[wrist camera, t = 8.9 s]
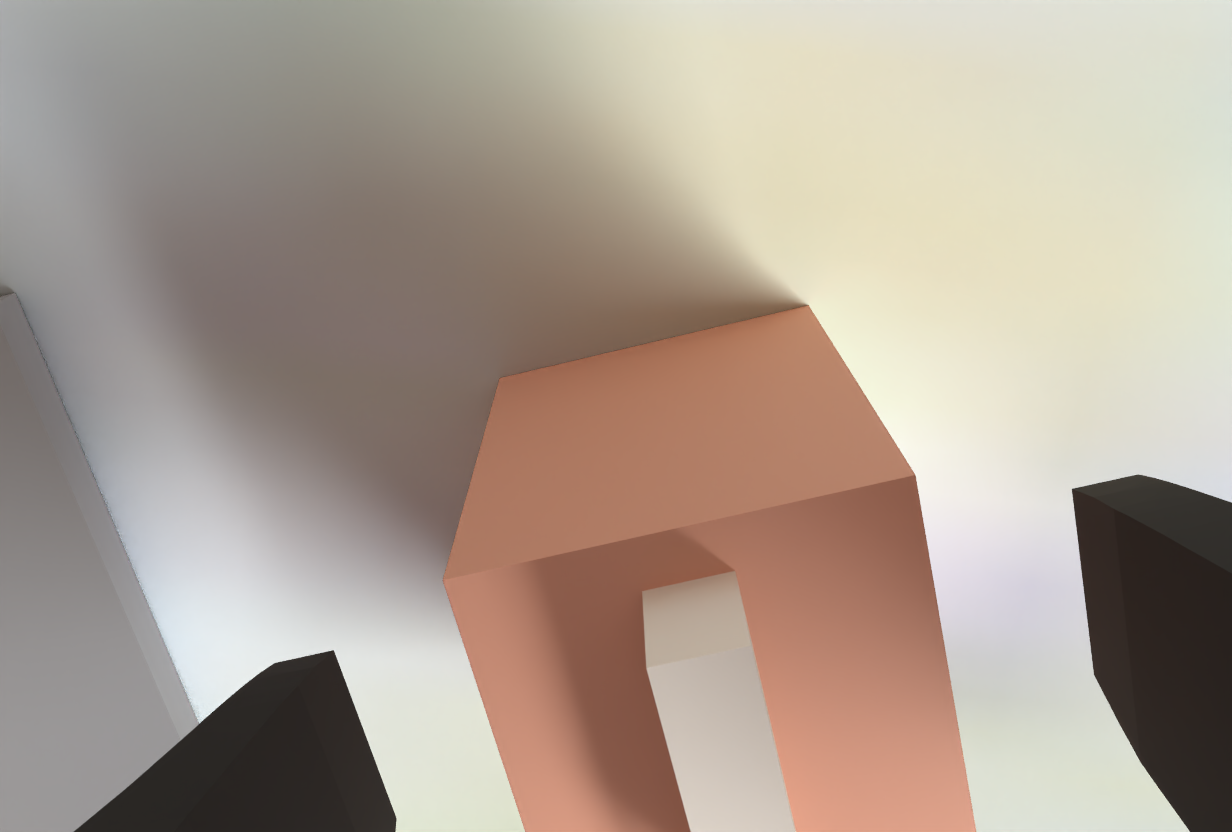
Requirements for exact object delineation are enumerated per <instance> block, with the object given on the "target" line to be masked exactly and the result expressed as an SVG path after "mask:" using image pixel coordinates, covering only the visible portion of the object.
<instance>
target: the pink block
mask: <svg viewBox="0 0 1232 832" xmlns="http://www.w3.org/2000/svg"><path fill="white" fill-rule="evenodd" d="M443 583H444V586H445V589H446V592H447V595H448V598H449V601H450V604H451V607H452V610H453V613H454V616H455V619H456V622H457V625H458V628H459V632H460V635H461V638H462V641H463V644H464V647H465V650H466V653H467V656H468V659H469V662H470V665H471V668H472V671H473V674H474V677H475V680H476V683H477V686H478V689H479V692H480V695H481V698H482V701H483V704H484V707H485V711H486V714H487V717H488V720H489V723H490V726H491V729H492V732H493V735H494V738H495V741H496V744H497V747H498V750H499V753H500V756H501V759H502V762H503V765H504V768H505V771H506V774H507V777H508V780H509V783H510V786H511V790H512V793H513V796H514V799H515V802H516V805H517V808H518V811H519V814H520V817H521V820H522V823H523V826H524V829H525V832H976V828H975V822H974V816H973V810H972V804H971V798H970V792H969V787H968V781H967V775H966V769H965V763H964V757H963V751H962V746H961V740H960V734H959V728H958V722H957V716H956V710H955V705H954V699H953V693H952V687H951V681H950V675H949V669H948V664H947V658H946V652H945V646H944V640H943V634H942V628H941V623H940V617H939V611H938V605H937V599H936V593H935V587H934V581H933V576H932V570H931V564H930V558H929V552H928V546H927V540H926V535H925V529H924V523H923V517H922V511H921V505H920V499H919V494H918V488H917V482H916V476H915V474H914V472H913V471H912V469H911V467H910V466H909V464H908V463H907V461H906V459H905V458H904V456H903V455H902V453H901V451H900V450H899V448H898V447H897V445H896V444H895V442H894V440H893V439H892V437H891V436H890V434H889V432H888V431H887V429H886V428H885V426H884V424H883V423H882V421H881V420H880V418H879V417H878V415H877V413H876V412H875V410H874V409H873V407H872V405H871V404H870V402H869V401H868V399H867V397H866V396H865V394H864V393H863V391H862V390H861V388H860V386H859V385H858V383H857V382H856V380H855V378H854V377H853V375H852V374H851V372H850V370H849V369H848V367H847V366H846V364H845V363H844V361H843V359H842V358H841V356H840V355H839V353H838V351H837V350H836V348H835V347H834V345H833V343H832V342H831V340H830V339H829V337H828V336H827V334H826V332H825V331H824V329H823V328H822V326H821V324H820V323H819V321H818V320H817V318H816V316H815V315H814V313H813V312H812V310H811V309H810V307H809V305H808V306H804V307H799V308H795V309H791V310H787V311H782V312H778V313H774V314H770V315H765V316H761V317H757V318H753V319H748V320H744V321H740V322H736V323H731V324H727V325H723V326H719V327H714V328H710V329H706V330H702V331H697V332H693V333H689V334H685V335H680V336H676V337H672V338H668V339H663V340H659V341H655V342H651V343H646V344H642V345H638V346H634V347H629V348H625V349H621V350H617V351H613V352H608V353H604V354H600V355H596V356H591V357H587V358H583V359H579V360H574V361H570V362H566V363H562V364H557V365H553V366H549V367H545V368H540V369H536V370H532V371H528V372H523V373H519V374H515V375H511V376H506V377H502V378H500V379H499V382H498V386H497V389H496V393H495V396H494V400H493V403H492V407H491V410H490V414H489V418H488V421H487V425H486V428H485V432H484V435H483V439H482V442H481V446H480V450H479V453H478V457H477V460H476V464H475V467H474V471H473V474H472V478H471V482H470V485H469V489H468V492H467V496H466V499H465V503H464V506H463V510H462V513H461V517H460V521H459V524H458V528H457V531H456V535H455V538H454V542H453V545H452V549H451V553H450V556H449V560H448V563H447V567H446V570H445V574H444V577H443Z"/></svg>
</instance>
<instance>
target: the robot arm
mask: <svg viewBox="0 0 1232 832" xmlns="http://www.w3.org/2000/svg"><path fill="white" fill-rule="evenodd" d="M1072 494H1073V502H1074V510H1075V519H1076V527H1077V535H1078V544H1079V552H1080V561H1081V569H1082V577H1083V586H1084V594H1085V602H1086V611H1087V619H1088V628H1089V636H1090V644H1091V653H1092V661H1093V669H1094V675H1095V677H1096V679H1097V681H1098V683H1099V685H1100V687H1101V689H1102V691H1103V693H1104V695H1105V697H1106V699H1107V701H1108V702H1109V704H1110V706H1111V708H1112V710H1113V712H1114V714H1115V716H1116V718H1117V720H1118V722H1119V724H1120V726H1121V727H1122V729H1123V731H1124V733H1125V735H1126V736H1127V738H1128V740H1129V742H1130V744H1131V745H1132V747H1133V749H1134V751H1135V753H1136V755H1137V756H1138V758H1139V760H1140V762H1141V763H1142V765H1143V766H1144V768H1145V769H1146V770H1147V772H1148V773H1149V775H1150V776H1151V778H1152V779H1153V780H1154V782H1155V783H1156V785H1157V786H1158V788H1159V789H1160V790H1161V792H1162V793H1163V794H1164V796H1165V797H1166V799H1167V800H1168V801H1169V803H1170V804H1171V806H1172V807H1173V808H1174V810H1175V811H1176V813H1177V814H1178V815H1179V817H1180V818H1181V820H1182V821H1183V822H1184V824H1185V825H1186V827H1187V828H1188V829H1189V831H1190V832H1232V503H1231V502H1228V501H1225V500H1222V499H1219V498H1216V497H1213V496H1210V495H1207V494H1204V493H1201V492H1198V491H1195V490H1192V489H1189V488H1186V487H1183V486H1180V485H1177V484H1173V483H1170V482H1167V481H1163V480H1159V479H1156V478H1152V477H1147V476H1143V475H1134V476H1129V477H1125V478H1120V479H1116V480H1111V481H1106V482H1102V483H1097V484H1093V485H1088V486H1084V487H1079V488H1074V489H1072ZM395 829H396V816H395V813H394V811H393V808H392V805H391V803H390V800H389V797H388V795H387V792H386V789H385V787H384V784H383V781H382V779H381V776H380V773H379V770H378V768H377V765H376V762H375V760H374V757H373V754H372V752H371V749H370V746H369V744H368V741H367V738H366V736H365V733H364V730H363V728H362V725H361V722H360V720H359V717H358V714H357V712H356V709H355V706H354V704H353V701H352V698H351V696H350V693H349V690H348V687H347V685H346V682H345V679H344V677H343V674H342V671H341V669H340V666H339V663H338V661H337V658H336V655H335V653H334V650H333V651H328V652H324V653H319V654H315V655H310V656H305V657H301V658H296V659H292V660H287V661H282V662H278V663H274V664H273V665H271V666H270V667H268V668H267V669H265V670H264V671H262V672H261V673H259V674H258V675H257V676H255V677H254V678H253V679H252V680H250V681H249V682H248V683H247V684H245V685H244V686H243V687H242V688H240V689H239V690H238V691H237V692H236V693H234V694H233V695H232V696H231V697H230V698H228V699H227V700H226V701H225V702H224V703H223V704H221V705H220V706H219V707H218V708H217V709H216V710H215V711H213V712H212V713H211V714H210V715H209V716H208V717H207V718H205V719H204V720H203V721H202V722H201V723H200V724H199V725H197V726H196V727H195V728H194V729H193V730H192V731H191V732H190V733H188V734H187V735H186V736H185V737H184V738H183V739H182V740H180V741H179V742H178V743H177V744H176V745H175V746H174V747H173V748H171V749H170V750H169V751H168V752H167V753H166V754H165V755H163V756H162V757H161V758H160V759H159V760H158V761H157V762H156V763H154V764H153V765H152V766H151V767H150V768H149V769H148V770H146V771H145V772H144V773H143V774H142V775H141V776H140V777H138V778H137V779H136V780H135V781H134V782H133V783H132V784H130V785H129V786H128V787H127V788H126V789H125V790H123V791H122V792H121V793H120V794H119V795H117V796H116V797H115V798H114V799H113V800H111V801H110V802H109V803H108V804H106V805H105V806H104V807H103V808H102V809H100V810H99V811H98V812H97V813H96V814H94V815H93V816H92V817H91V818H89V819H88V820H87V821H86V822H85V823H83V824H82V825H81V826H80V827H79V828H77V829H76V830H75V831H74V832H395Z"/></svg>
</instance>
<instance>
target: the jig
mask: <svg viewBox="0 0 1232 832" xmlns="http://www.w3.org/2000/svg"><path fill="white" fill-rule="evenodd" d="M197 725H199V723H198V720H197V718H196V716H195V713H194V711H193V709H192V706H191V704H190V701H189V699H188V697H187V694H186V692H185V690H184V687H183V685H182V683H181V680H180V678H179V676H178V673H177V671H176V669H175V666H174V664H173V662H172V659H171V657H170V654H169V652H168V650H167V647H166V645H165V643H164V640H163V638H162V636H161V633H160V631H159V629H158V626H157V624H156V622H155V619H154V617H153V615H152V612H151V610H150V607H149V605H148V603H147V600H146V598H145V596H144V593H143V591H142V589H141V586H140V584H139V582H138V579H137V577H136V575H135V572H134V570H133V568H132V565H131V563H130V561H129V558H128V556H127V553H126V551H125V549H124V546H123V544H122V542H121V539H120V537H119V535H118V532H117V530H116V528H115V525H114V523H113V521H112V518H111V516H110V514H109V511H108V509H107V506H106V504H105V502H104V499H103V497H102V495H101V492H100V490H99V488H98V485H97V483H96V481H95V478H94V476H93V474H92V471H91V469H90V467H89V464H88V462H87V459H86V457H85V455H84V452H83V450H82V448H81V445H80V443H79V441H78V438H77V436H76V434H75V431H74V429H73V427H72V424H71V422H70V420H69V417H68V415H67V412H66V410H65V408H64V405H63V403H62V401H61V398H60V396H59V394H58V391H57V389H56V387H55V384H54V382H53V380H52V377H51V375H50V373H49V370H48V368H47V365H46V363H45V361H44V358H43V356H42V354H41V351H40V349H39V347H38V344H37V342H36V340H35V337H34V335H33V333H32V330H31V328H30V326H29V323H28V321H27V318H26V316H25V314H24V311H23V309H22V307H21V304H20V302H19V300H18V297H17V295H16V293H12V294H8V295H4V296H0V832H74V831H75V830H76V829H77V828H79V827H80V826H81V825H82V824H83V823H85V822H86V821H87V820H88V819H89V818H91V817H92V816H93V815H94V814H96V813H97V812H98V811H99V810H100V809H102V808H103V807H104V806H105V805H106V804H108V803H109V802H110V801H111V800H113V799H114V798H115V797H116V796H117V795H119V794H120V793H121V792H122V791H123V790H125V789H126V788H127V787H128V786H129V785H130V784H132V783H133V782H134V781H135V780H136V779H137V778H138V777H140V776H141V775H142V774H143V773H144V772H145V771H146V770H148V769H149V768H150V767H151V766H152V765H153V764H154V763H156V762H157V761H158V760H159V759H160V758H161V757H162V756H163V755H165V754H166V753H167V752H168V751H169V750H170V749H171V748H173V747H174V746H175V745H176V744H177V743H178V742H179V741H180V740H182V739H183V738H184V737H185V736H186V735H187V734H188V733H190V732H191V731H192V730H193V729H194V728H195V727H196V726H197Z"/></svg>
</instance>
